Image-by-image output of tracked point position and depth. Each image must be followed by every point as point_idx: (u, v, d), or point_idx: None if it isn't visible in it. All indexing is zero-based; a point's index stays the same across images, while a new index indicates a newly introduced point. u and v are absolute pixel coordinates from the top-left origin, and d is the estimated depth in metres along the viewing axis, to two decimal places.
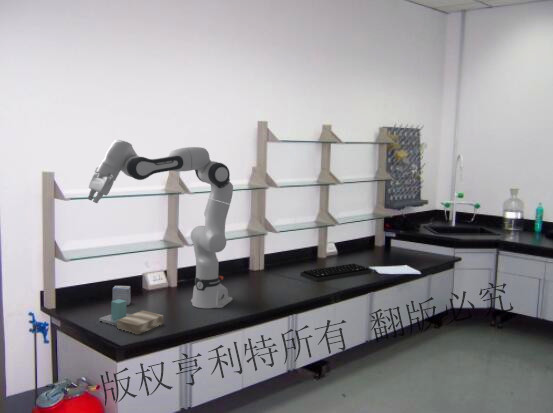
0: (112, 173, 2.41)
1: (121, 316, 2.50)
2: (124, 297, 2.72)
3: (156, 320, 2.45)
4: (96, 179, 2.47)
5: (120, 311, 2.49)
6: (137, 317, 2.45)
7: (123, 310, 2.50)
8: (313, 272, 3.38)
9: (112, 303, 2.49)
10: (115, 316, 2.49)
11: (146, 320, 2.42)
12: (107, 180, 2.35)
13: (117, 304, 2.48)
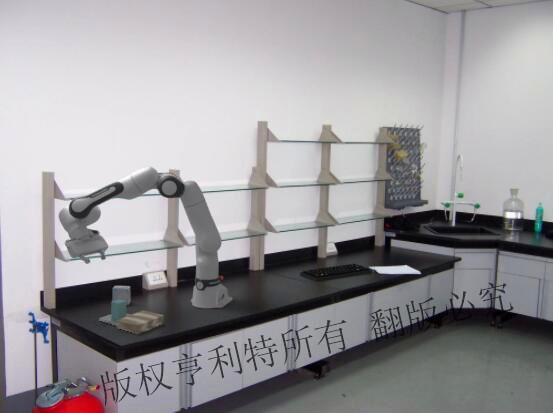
0: (74, 236, 2.54)
1: (121, 316, 2.50)
2: (124, 297, 2.72)
3: (156, 320, 2.45)
4: None
5: (120, 311, 2.49)
6: (137, 317, 2.45)
7: (123, 310, 2.50)
8: (313, 272, 3.39)
9: (112, 303, 2.49)
10: (115, 316, 2.49)
11: (146, 320, 2.42)
12: (67, 247, 2.50)
13: (117, 304, 2.48)
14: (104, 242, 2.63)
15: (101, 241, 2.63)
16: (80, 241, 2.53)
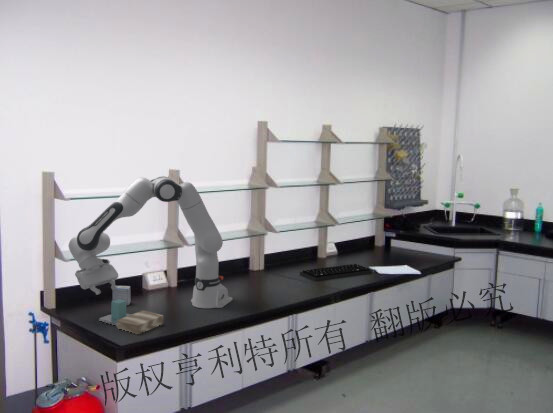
0: (84, 266, 2.53)
1: (121, 316, 2.50)
2: (124, 297, 2.72)
3: (156, 320, 2.45)
4: None
5: (120, 311, 2.49)
6: (137, 317, 2.45)
7: (123, 310, 2.50)
8: (312, 272, 3.39)
9: (112, 303, 2.49)
10: (115, 316, 2.49)
11: (146, 320, 2.42)
12: (77, 278, 2.49)
13: (117, 304, 2.48)
14: (114, 271, 2.62)
15: (112, 270, 2.62)
16: (90, 271, 2.52)
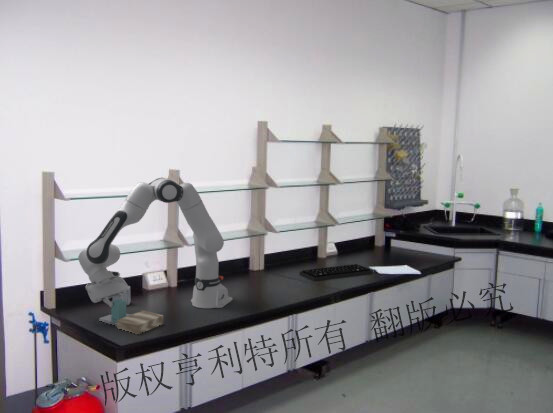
0: (94, 279, 2.50)
1: (121, 316, 2.50)
2: (124, 297, 2.72)
3: (156, 320, 2.45)
4: None
5: (120, 311, 2.49)
6: (137, 317, 2.45)
7: (123, 310, 2.50)
8: (311, 271, 3.40)
9: None
10: (115, 316, 2.49)
11: (146, 320, 2.42)
12: (88, 291, 2.46)
13: (117, 304, 2.48)
14: (124, 284, 2.60)
15: (122, 282, 2.59)
16: (101, 284, 2.50)
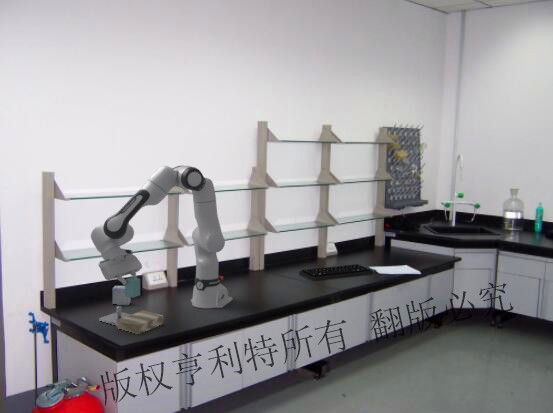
0: (107, 257, 2.45)
1: (135, 294, 2.44)
2: (124, 297, 2.72)
3: (156, 320, 2.45)
4: None
5: (134, 289, 2.44)
6: (137, 317, 2.45)
7: (137, 288, 2.45)
8: (311, 271, 3.40)
9: None
10: (129, 294, 2.44)
11: (146, 320, 2.42)
12: (101, 269, 2.41)
13: (131, 282, 2.43)
14: (138, 262, 2.54)
15: (135, 261, 2.54)
16: (114, 262, 2.45)
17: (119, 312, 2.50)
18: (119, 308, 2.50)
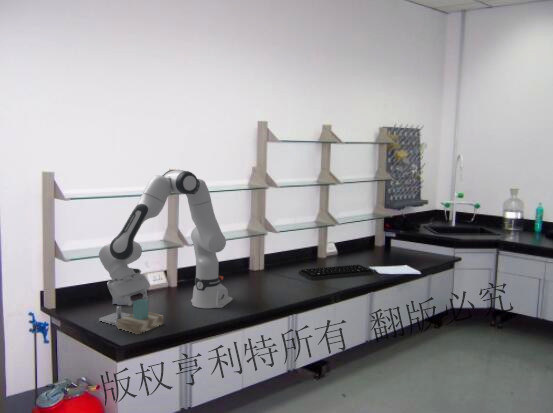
0: (115, 276, 2.44)
1: (143, 316, 2.43)
2: None
3: (156, 320, 2.45)
4: None
5: (142, 311, 2.42)
6: None
7: (145, 310, 2.44)
8: (310, 271, 3.41)
9: (134, 303, 2.43)
10: (137, 316, 2.43)
11: (146, 320, 2.42)
12: None
13: (139, 304, 2.41)
14: (146, 281, 2.53)
15: (143, 280, 2.52)
16: (122, 282, 2.43)
17: (119, 312, 2.50)
18: (119, 308, 2.50)
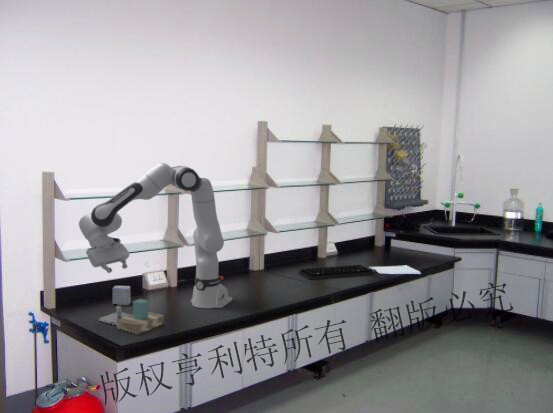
0: (95, 244, 2.48)
1: (143, 316, 2.43)
2: (124, 297, 2.72)
3: (156, 320, 2.45)
4: None
5: (142, 311, 2.42)
6: None
7: (145, 310, 2.44)
8: (310, 270, 3.42)
9: (134, 303, 2.43)
10: (137, 316, 2.43)
11: (146, 320, 2.42)
12: (88, 256, 2.43)
13: (139, 304, 2.41)
14: (125, 250, 2.57)
15: (122, 249, 2.57)
16: (101, 250, 2.47)
17: (119, 312, 2.50)
18: (119, 308, 2.50)
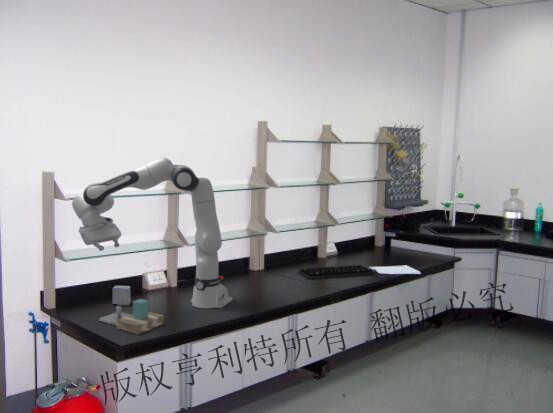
0: (87, 223, 2.55)
1: (143, 316, 2.43)
2: (124, 297, 2.72)
3: (156, 320, 2.45)
4: None
5: (142, 311, 2.42)
6: None
7: (145, 310, 2.44)
8: (309, 270, 3.42)
9: (134, 303, 2.43)
10: (137, 316, 2.43)
11: (146, 320, 2.42)
12: (81, 234, 2.50)
13: (139, 304, 2.41)
14: (117, 230, 2.64)
15: (115, 228, 2.63)
16: (94, 228, 2.54)
17: (119, 312, 2.50)
18: (119, 308, 2.50)
